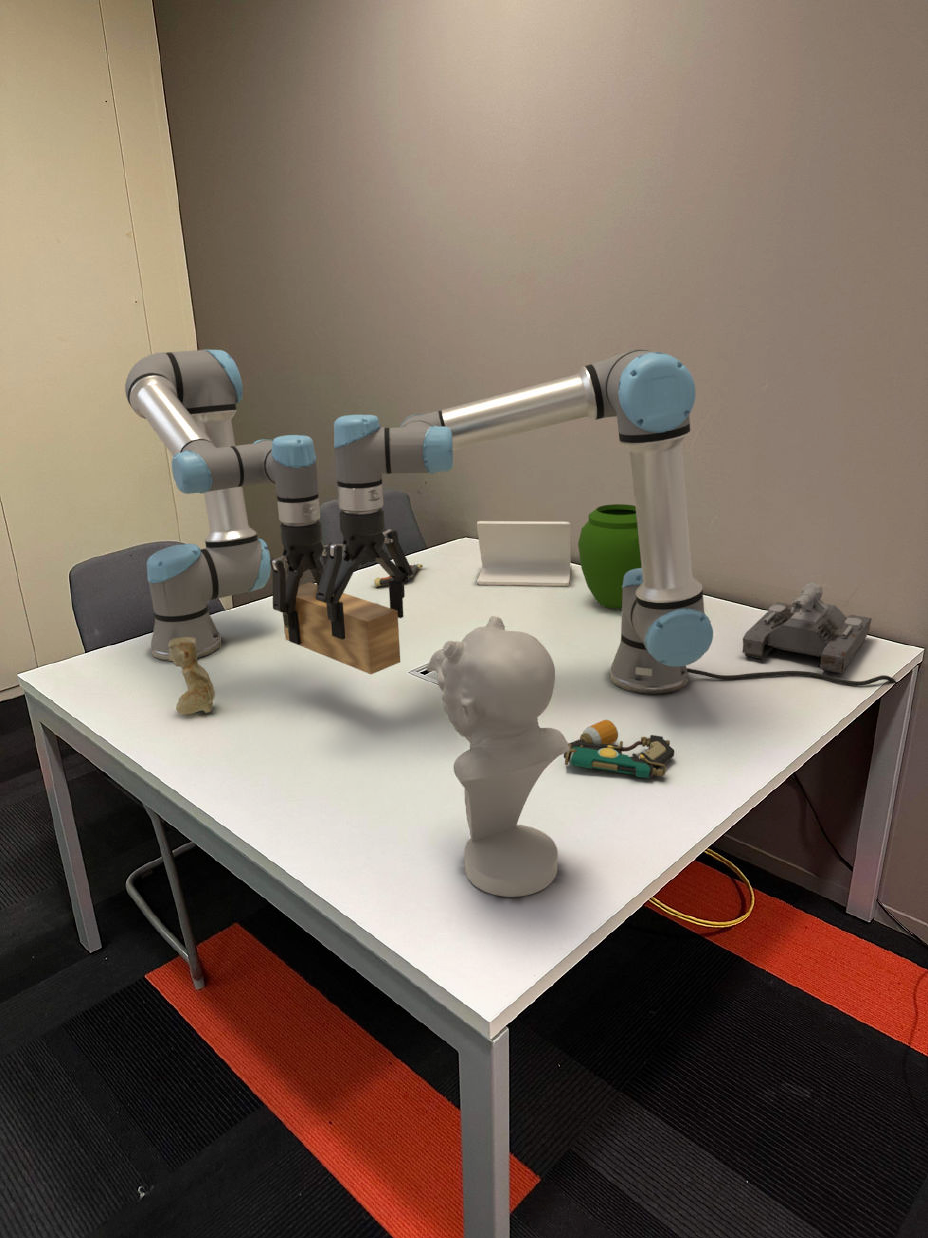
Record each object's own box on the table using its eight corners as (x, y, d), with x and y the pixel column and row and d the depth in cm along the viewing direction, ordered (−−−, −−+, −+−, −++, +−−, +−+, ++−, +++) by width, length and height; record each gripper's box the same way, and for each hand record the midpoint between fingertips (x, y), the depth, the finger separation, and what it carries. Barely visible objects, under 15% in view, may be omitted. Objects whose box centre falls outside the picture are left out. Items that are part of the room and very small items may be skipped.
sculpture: (181, 705, 167) (169, 634, 162) (218, 702, 168) (208, 632, 162) (175, 719, 162) (163, 646, 156) (213, 716, 162) (203, 643, 157)
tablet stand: (569, 585, 229) (570, 524, 223) (476, 584, 232) (475, 523, 226) (570, 566, 246) (571, 508, 240) (484, 564, 249) (483, 507, 243)
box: (285, 639, 166) (280, 591, 162) (314, 629, 171) (310, 582, 167) (371, 674, 150) (367, 621, 146) (400, 662, 154) (397, 610, 151)
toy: (776, 622, 200) (783, 560, 194) (868, 639, 189) (878, 574, 183) (740, 659, 181) (746, 591, 175) (840, 680, 170) (850, 609, 164)
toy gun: (371, 579, 231) (406, 576, 229) (390, 563, 249) (423, 560, 247) (373, 589, 232) (408, 586, 230) (391, 572, 250) (424, 569, 248)
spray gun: (681, 756, 145) (649, 801, 133) (591, 728, 153) (553, 769, 141) (684, 735, 143) (652, 779, 131) (593, 708, 151) (555, 747, 139)
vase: (599, 587, 227) (601, 497, 218) (668, 600, 216) (673, 505, 208) (562, 608, 212) (564, 513, 204) (634, 623, 202) (639, 523, 193)
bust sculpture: (498, 792, 135) (495, 582, 122) (589, 876, 115) (596, 634, 102) (406, 822, 128) (392, 602, 115) (485, 917, 108) (479, 663, 95)
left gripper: (266, 536, 148) (280, 657, 156) (355, 514, 162) (363, 626, 170) (242, 529, 153) (256, 647, 161) (330, 508, 167) (339, 618, 175)
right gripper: (315, 527, 133) (326, 652, 141) (429, 499, 150) (433, 612, 158) (287, 519, 138) (298, 641, 146) (400, 493, 155) (405, 603, 163)
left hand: (311, 636), depth 166 cm, fingers closed on box, 7 cm apart
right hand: (368, 626), depth 152 cm, fingers open, 13 cm apart
